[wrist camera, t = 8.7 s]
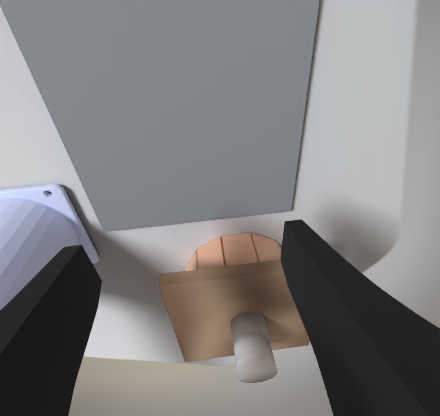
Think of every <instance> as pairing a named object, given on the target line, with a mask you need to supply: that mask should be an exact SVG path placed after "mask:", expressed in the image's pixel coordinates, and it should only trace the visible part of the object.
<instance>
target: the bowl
mask: <svg viewBox="0 0 440 416" xmlns="http://www.w3.org/2000/svg"><path fill="white" fill-rule="evenodd" d="M281 249H282V248H281V246H280V245H279V244H278V243H277V241H275V240H273V239H270V238H266V237H263V236H260V235H257V234H253V233H251V235H250V233H244V234H236V235H227V236H222V238H221V237H218V238H217V239H215V240H213V241H211V242H209V243H208V244H206V245H204V246H202V247H200V248H199V249H197V251H195V253H194V254H193V256H192V257H191V259H190V261H189V262H188V264H187V266H186V267H185V271H192V270H200V269H208V268H216V267H224V266H232V265H241V264H249V263H257V262H265V261H273V260H280V258H281Z"/></svg>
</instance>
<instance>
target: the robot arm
mask: <svg viewBox="0 0 440 416" xmlns="http://www.w3.org/2000/svg"><path fill="white" fill-rule="evenodd" d="M47 191H49V192H51V193H52V194H49V193H48V192H47ZM98 260H99V256H98V254H97V252H96V250H95V248H94V246H93V244H92V242H91V240H90V238H89V236H88V234H87V232H86V231H85V229H84V227H83V225H82V223H81V221H80V219H79V217H78V215H77V213H76V211H75V209H74V207H73V205H72V203H71V201H70V199H69V197H68V196H67V194H66V192H65V190H64V188H63V187H62V186H60V185H57V184H52V185H42V186H33V187H23V188H14V189H4V190H0V416H68V414H69V409H70V405H71V399H72V395H73V390H74V386H75V382H76V379H77V375H78V371H79V368H80V365H81V362H82V358H83V355H84V352H85V349H86V345H87V342H88V339H89V335H90V332H91V329H92V325H93V322H94V319H95V315H96V312H97V308H98V302H99V297H100V290H101V283H102V280H101V279H100V277H99V275H98V273H97V271H96V269H95V268H94V266H93V264H95V263H97V262H98ZM280 260H281V264H282V268H283V271H284V275H285V279H286V282H287V285H288V288H289V290H290V293H291V295H292V298H293V300H294V303H295V305H296V308H297V310H298V313H299V315H300V318H301V320H302V322H303V325H304V327H305V330H306V332H307V335H308V337H309V339H310V342H311V345H312V347H313V350H314V353H315V355H316V358H317V362H318V365H319V368H320V371H321V375H322V378H323V381H324V384H325V388H326V391H327V395H328V398H329V401H330V405H331V408H332V412H333V415H334V416H440V328H438V327H436V326H435V325H433V324H431V323H430V322H428V321H427V320H425V319H424V318H422V317H421V316H419V315H418V314H416V313H415V312H413V311H412V310H410V309H409V308H407V307H406V306H405V305H403V304H402V303H400V302H399V301H397V300H396V299H395V298H393V297H392V296H390V295H389V294H387V293H386V292H385V291H383V290H382V289H381V288H379V287H378V286H377V285H376V284H374V283H373V282H372V281H370V280H369V279H368V278H367V277H365V276H364V275H363V274H362V273H360V272H359V271H358V270H357V269H356V268H354V267H353V266H352V265H351V264H350V263H349V262H347V261H346V260H345V259H344V258H343V257H342V256H341V255H339V254H338V253H337V252H336V251H335V250H334V249H333V248H332V247H330V246H329V245H328V244H327V243H326V242H325V241H324V240H323V239H322V238H321V237H320V236H319V235H318V234H317V233H315V232H314V231H313V230H312V229H311V228H310V227H309V226H308V225H307V224H306V223H305V222H304V221H303V220H293V221H285V224H284V233H283V241H282V249H281V258H280Z"/></svg>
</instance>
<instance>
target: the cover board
mask: <svg viewBox="0 0 440 416" xmlns="http://www.w3.org/2000/svg"><path fill="white" fill-rule="evenodd" d="M159 288H160V291H161V294H162V296H163V299H164V302H165V305H166V308H167V311H168V314H169V317H170V320H171V322H172V325H173V328H174V331H175V334H176V337H177V340H178V343H179V346H180V348H181V351H182V354H183V357H184V360H185V362H189V361H196V360H203V359H211V358H218V357H225V356H233V355H235V360H236V368H237V375H238V379H239V380H240V381H242V382H245V383H256V382H262V381H265V380H268V379H270V378H272V377H274V376H275V375H276V374H277V368H276V365H275V360H274V356H273V353H272V350H277V349H284V348H291V347H299V346H305V345H309V342H310V339H309V337H308V335H307V332H306V330H305V327H304V325H303V322H302V320H301V318H300V315H299V313H298V310H297V308H296V305H295V303H294V300H293V298H292V295H291V293H290V290H289V288H288V285H287V282H286V279H285V275H284V271H283V268H282V264H281V260H273V261H265V262H257V263H249V264H241V265H232V266H224V267H216V268H208V269H200V270H192V271H184V272H176V273H167V274H160V282H159Z"/></svg>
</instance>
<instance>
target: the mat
mask: <svg viewBox="0 0 440 416" xmlns="http://www.w3.org/2000/svg"><path fill="white" fill-rule="evenodd" d="M319 1H320V0H0V6H1V8H2V11H3V13H4V15H5V17H6V19H7V22H8V24H9V26H10V28H11V30H12V32H13V35H14V37H15V39H16V41H17V43H18V46H19V48H20V50H21V52H22V54H23V57H24V59H25V61H26V63H27V65H28V67H29V70H30V72H31V74H32V76H33V78H34V81H35V83H36V85H37V87H38V89H39V91H40V94H41V96H42V98H43V100H44V102H45V105H46V107H47V109H48V111H49V113H50V115H51V118H52V120H53V122H54V124H55V126H56V129H57V131H58V133H59V135H60V137H61V140H62V142H63V144H64V146H65V148H66V150H67V153H68V155H69V157H70V159H71V161H72V164H73V166H74V168H75V170H76V172H77V174H78V177H79V179H80V181H81V183H82V185H83V188H84V190H85V192H86V194H87V196H88V198H89V201H90V203H91V205H92V207H93V209H94V212H95V214H96V216H97V218H98V220H99V223H100V225H101V227H102V229H103V231H104V232H109V231H118V230H127V229H135V228H144V227H153V226H162V225H171V224H180V223H188V222H197V221H206V220H215V219H224V218H233V217H241V216H250V215H259V214H268V213H277V212H286V211H291V209H292V202H293V194H294V187H295V179H296V172H297V165H298V157H299V150H300V142H301V135H302V127H303V120H304V112H305V105H306V98H307V90H308V83H309V75H310V68H311V60H312V53H313V46H314V38H315V31H316V23H317V16H318V8H319Z"/></svg>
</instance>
